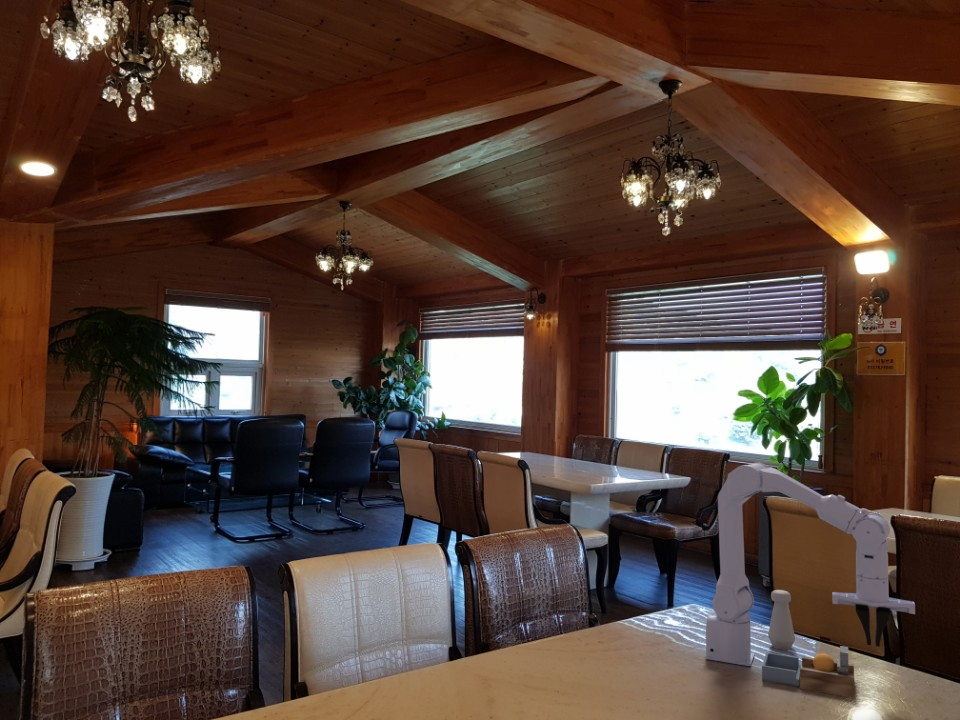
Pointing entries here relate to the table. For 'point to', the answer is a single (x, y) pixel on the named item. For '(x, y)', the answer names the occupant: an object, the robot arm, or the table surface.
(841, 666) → the grey stepped block
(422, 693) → the table surface
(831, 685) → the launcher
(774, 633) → the salt shaker
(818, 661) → the ball
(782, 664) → the blue-grey open tray
